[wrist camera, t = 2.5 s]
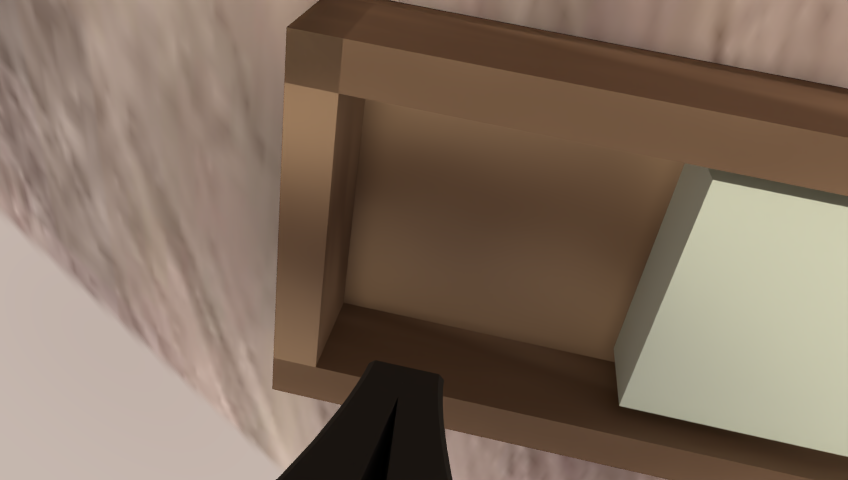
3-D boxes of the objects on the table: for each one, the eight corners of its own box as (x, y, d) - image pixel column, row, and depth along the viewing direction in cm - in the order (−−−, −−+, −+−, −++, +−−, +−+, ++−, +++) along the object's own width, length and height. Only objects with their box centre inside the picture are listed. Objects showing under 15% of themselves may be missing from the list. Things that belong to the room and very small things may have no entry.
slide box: (867, 438, 22) (914, 535, 19) (308, 314, 23) (272, 389, 20) (1082, 134, 17) (1195, 205, 14) (332, -11, 18) (286, 27, 15)
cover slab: (884, 407, 21) (919, 472, 19) (613, 348, 21) (618, 405, 19) (1028, 202, 17) (1091, 256, 15) (695, 136, 18) (712, 179, 15)
